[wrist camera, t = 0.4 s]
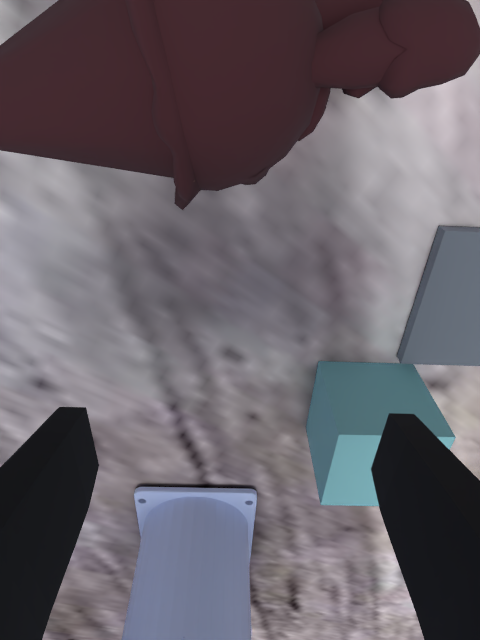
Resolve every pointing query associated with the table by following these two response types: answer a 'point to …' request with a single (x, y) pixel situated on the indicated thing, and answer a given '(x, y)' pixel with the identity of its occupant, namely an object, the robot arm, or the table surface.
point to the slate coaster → (447, 303)
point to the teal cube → (361, 423)
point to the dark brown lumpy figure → (213, 78)
